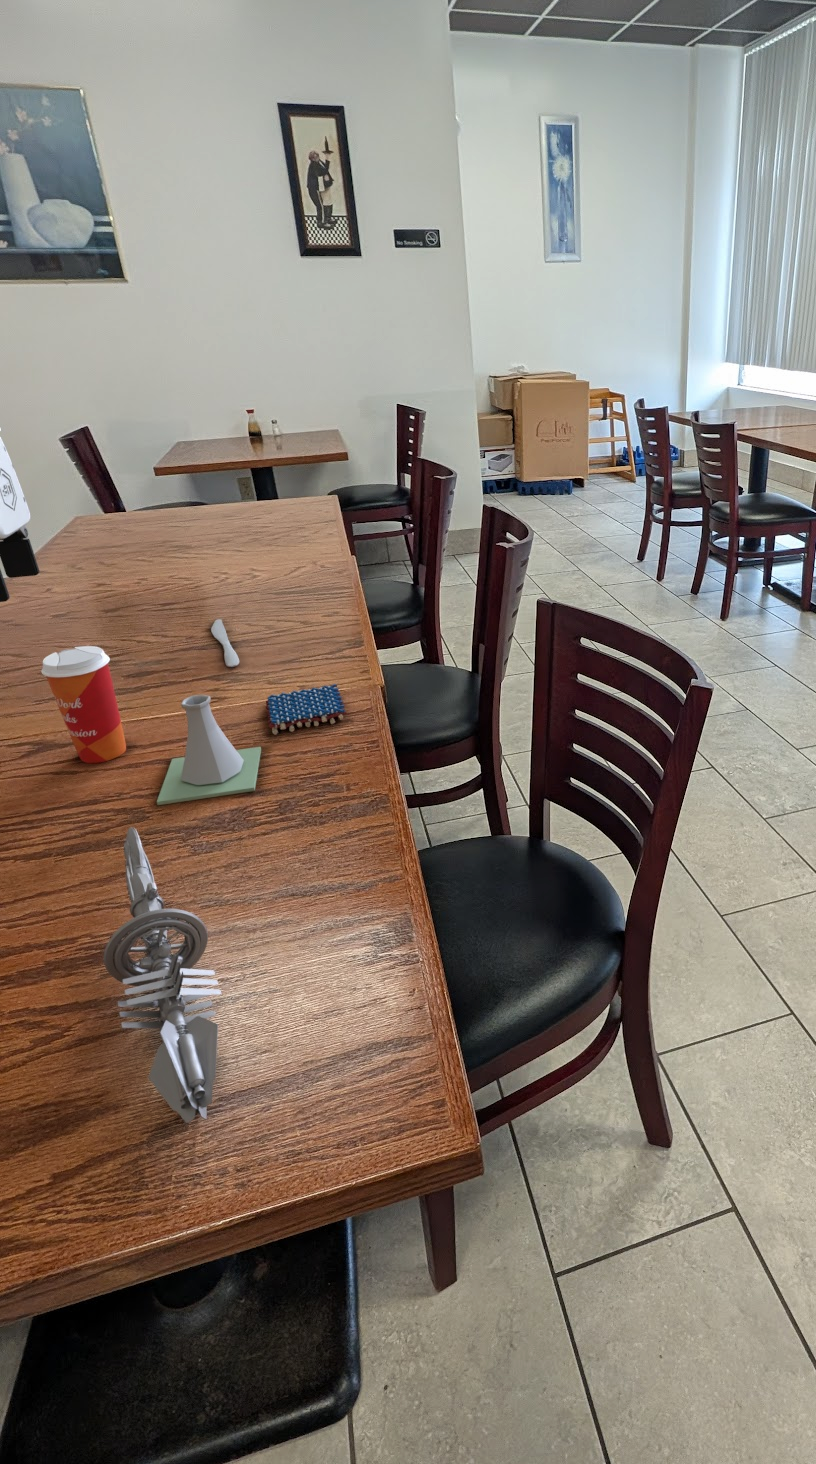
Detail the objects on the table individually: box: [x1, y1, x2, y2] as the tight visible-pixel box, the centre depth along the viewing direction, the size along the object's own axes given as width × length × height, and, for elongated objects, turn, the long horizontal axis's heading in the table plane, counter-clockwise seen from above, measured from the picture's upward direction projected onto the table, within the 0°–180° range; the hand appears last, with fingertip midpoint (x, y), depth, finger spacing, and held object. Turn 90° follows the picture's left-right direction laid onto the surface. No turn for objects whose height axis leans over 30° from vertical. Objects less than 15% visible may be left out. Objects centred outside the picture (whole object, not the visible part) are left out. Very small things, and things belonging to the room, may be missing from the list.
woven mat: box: [265, 683, 347, 736], centre depth 118 cm, size 10×11×2 cm
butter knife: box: [210, 618, 240, 668], centre depth 145 cm, size 1×27×3 cm
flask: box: [180, 694, 244, 785], centre depth 100 cm, size 7×7×10 cm
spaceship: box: [103, 826, 222, 1124], centre depth 69 cm, size 8×35×8 cm
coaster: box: [156, 746, 262, 806], centre depth 103 cm, size 11×11×1 cm
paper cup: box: [40, 645, 127, 764], centre depth 106 cm, size 8×8×14 cm
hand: (8, 588), depth 87 cm, fingers open, 9 cm apart
